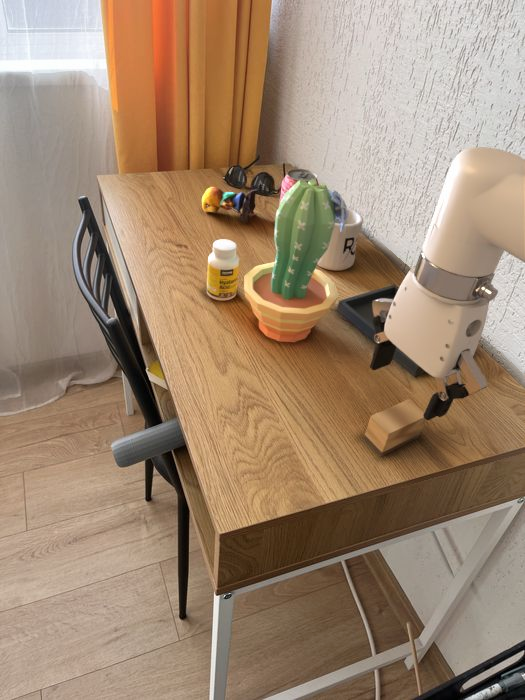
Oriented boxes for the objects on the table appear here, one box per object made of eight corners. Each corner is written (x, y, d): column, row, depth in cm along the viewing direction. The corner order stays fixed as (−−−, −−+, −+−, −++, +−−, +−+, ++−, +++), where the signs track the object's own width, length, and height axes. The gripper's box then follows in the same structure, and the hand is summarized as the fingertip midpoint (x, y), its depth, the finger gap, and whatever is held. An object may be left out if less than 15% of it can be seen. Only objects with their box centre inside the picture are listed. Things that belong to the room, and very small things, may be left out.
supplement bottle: (218, 305, 92) (220, 255, 86) (200, 290, 95) (201, 241, 89) (242, 296, 95) (246, 247, 88) (224, 282, 98) (227, 234, 92)
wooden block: (400, 421, 74) (409, 398, 71) (418, 438, 72) (428, 415, 69) (363, 438, 71) (370, 415, 68) (380, 456, 69) (389, 433, 66)
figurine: (198, 213, 119) (199, 187, 115) (214, 202, 124) (216, 176, 120) (243, 227, 116) (246, 201, 112) (258, 215, 121) (260, 189, 117)
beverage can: (316, 224, 120) (325, 172, 113) (306, 238, 114) (315, 185, 107) (283, 215, 122) (289, 164, 115) (272, 229, 116) (278, 176, 109)
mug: (339, 277, 103) (349, 230, 97) (300, 260, 107) (308, 214, 101) (368, 255, 111) (380, 211, 105) (332, 240, 115) (341, 196, 109)
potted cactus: (322, 364, 82) (356, 215, 66) (228, 342, 84) (238, 192, 68) (335, 310, 94) (366, 173, 78) (251, 292, 96) (265, 155, 80)
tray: (471, 352, 88) (476, 343, 87) (414, 377, 82) (418, 367, 81) (391, 293, 100) (394, 284, 99) (336, 310, 94) (338, 300, 93)
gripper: (543, 309, 52) (478, 426, 62) (418, 230, 62) (381, 342, 73) (495, 328, 48) (434, 449, 59) (371, 241, 59) (339, 356, 70)
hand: (405, 389), depth 66 cm, fingers open, 9 cm apart
